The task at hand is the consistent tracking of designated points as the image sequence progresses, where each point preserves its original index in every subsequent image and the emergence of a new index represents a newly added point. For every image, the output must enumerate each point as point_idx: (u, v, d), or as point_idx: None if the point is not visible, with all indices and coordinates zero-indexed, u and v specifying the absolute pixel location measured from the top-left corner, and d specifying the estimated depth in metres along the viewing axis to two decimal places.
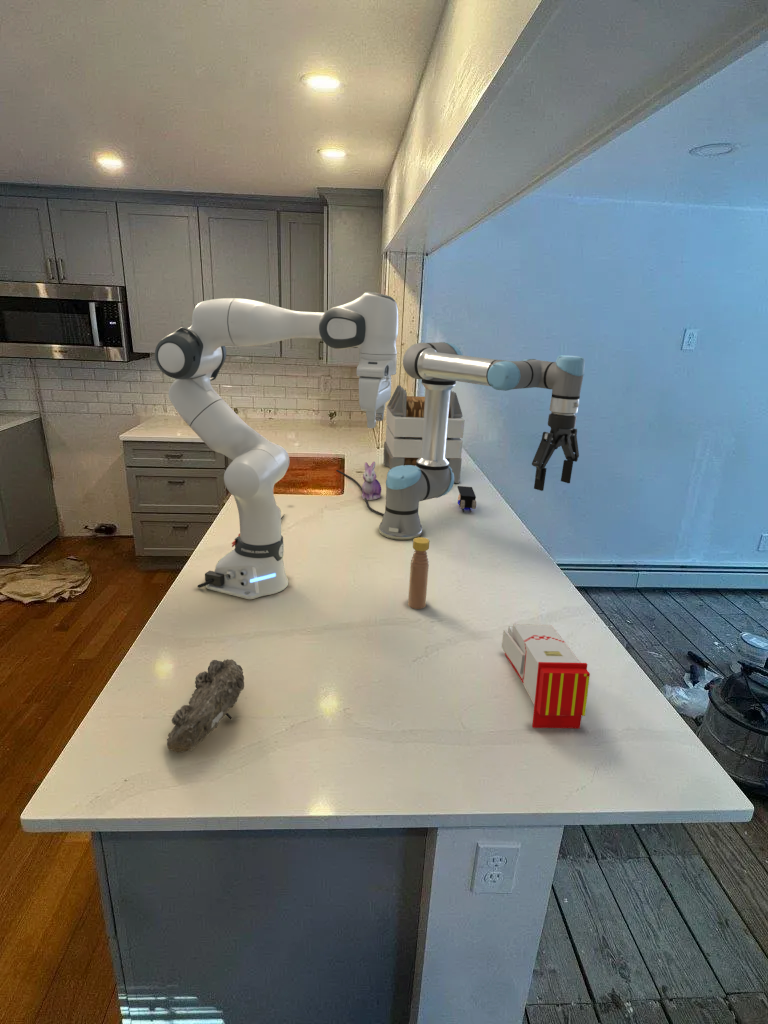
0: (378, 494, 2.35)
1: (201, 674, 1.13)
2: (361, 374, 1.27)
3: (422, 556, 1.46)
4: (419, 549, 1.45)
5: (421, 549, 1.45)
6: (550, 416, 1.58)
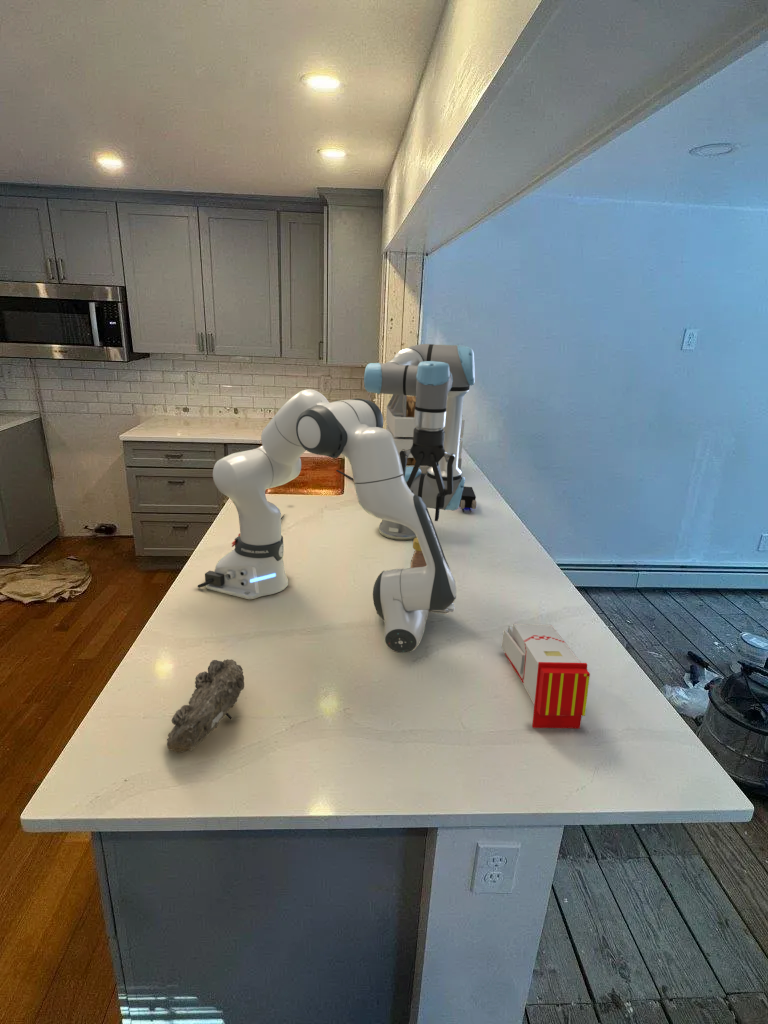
0: None
1: (201, 674, 1.13)
2: None
3: (422, 556, 1.46)
4: (419, 549, 1.45)
5: None
6: (441, 434, 1.34)
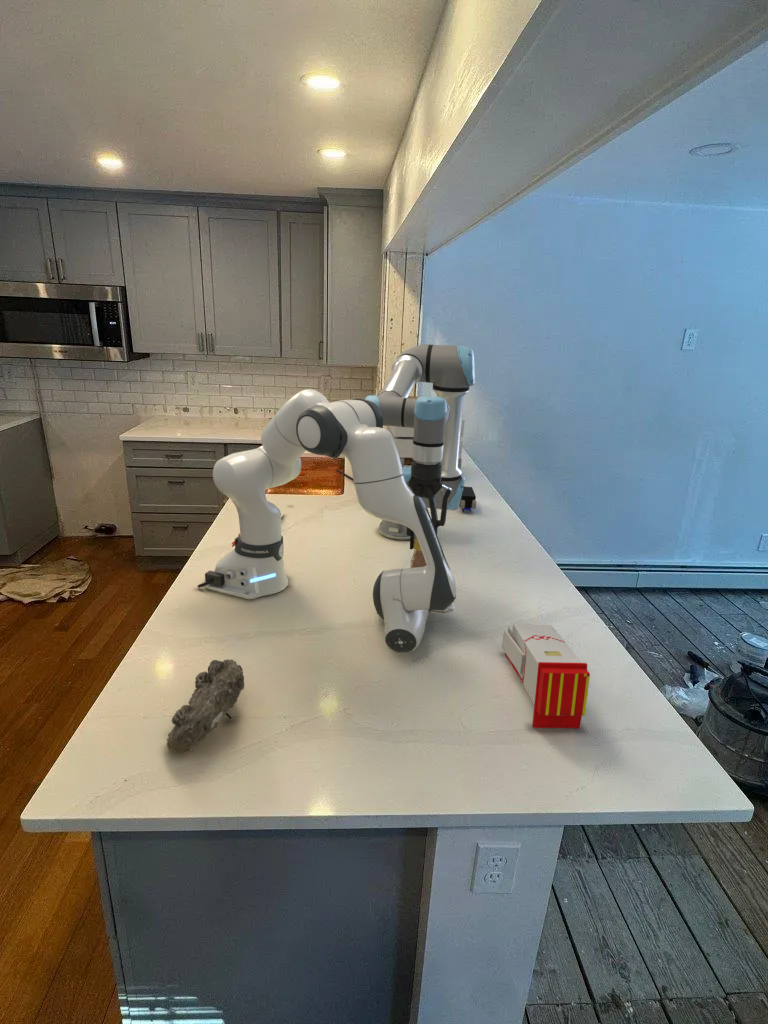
0: None
1: (201, 674, 1.13)
2: None
3: (422, 556, 1.46)
4: (419, 549, 1.45)
5: None
6: (439, 467, 1.37)
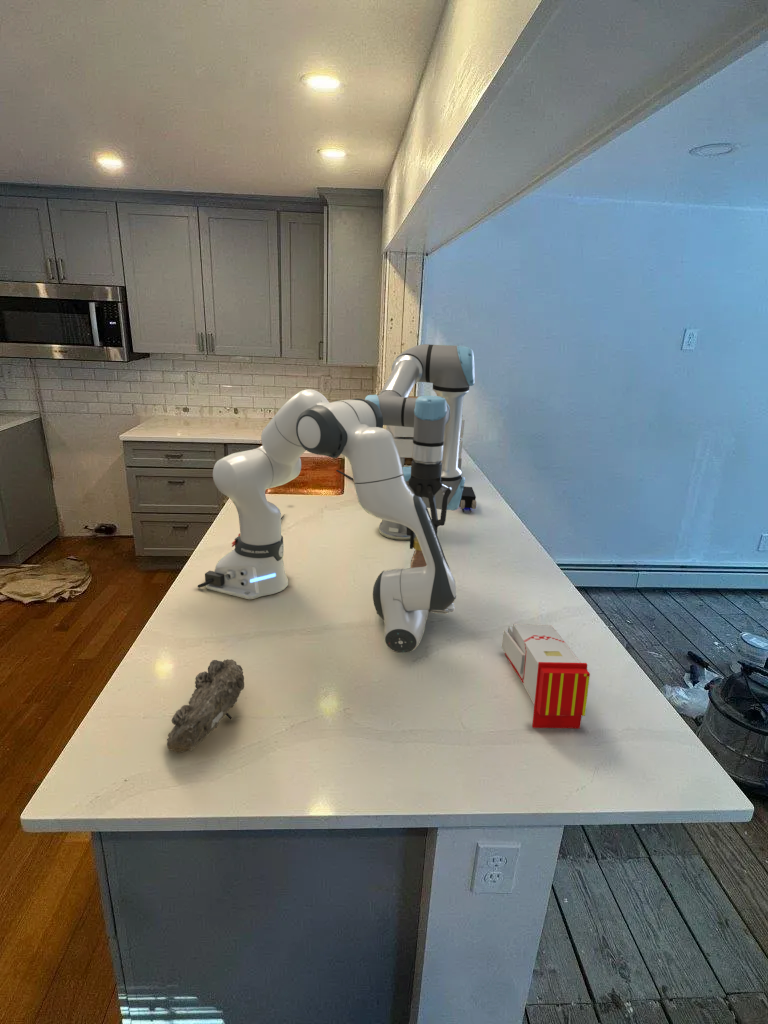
0: None
1: (201, 674, 1.13)
2: None
3: (422, 556, 1.46)
4: None
5: None
6: (439, 467, 1.37)
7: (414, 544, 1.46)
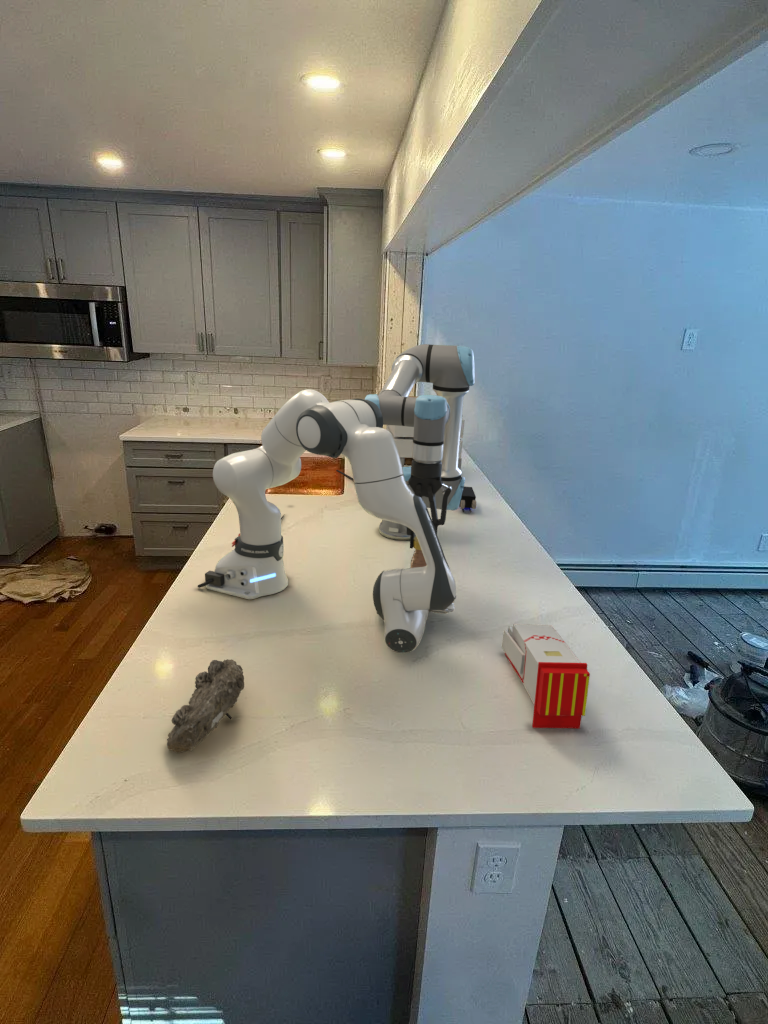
0: None
1: (201, 674, 1.13)
2: None
3: (422, 556, 1.46)
4: None
5: None
6: (439, 466, 1.37)
7: None
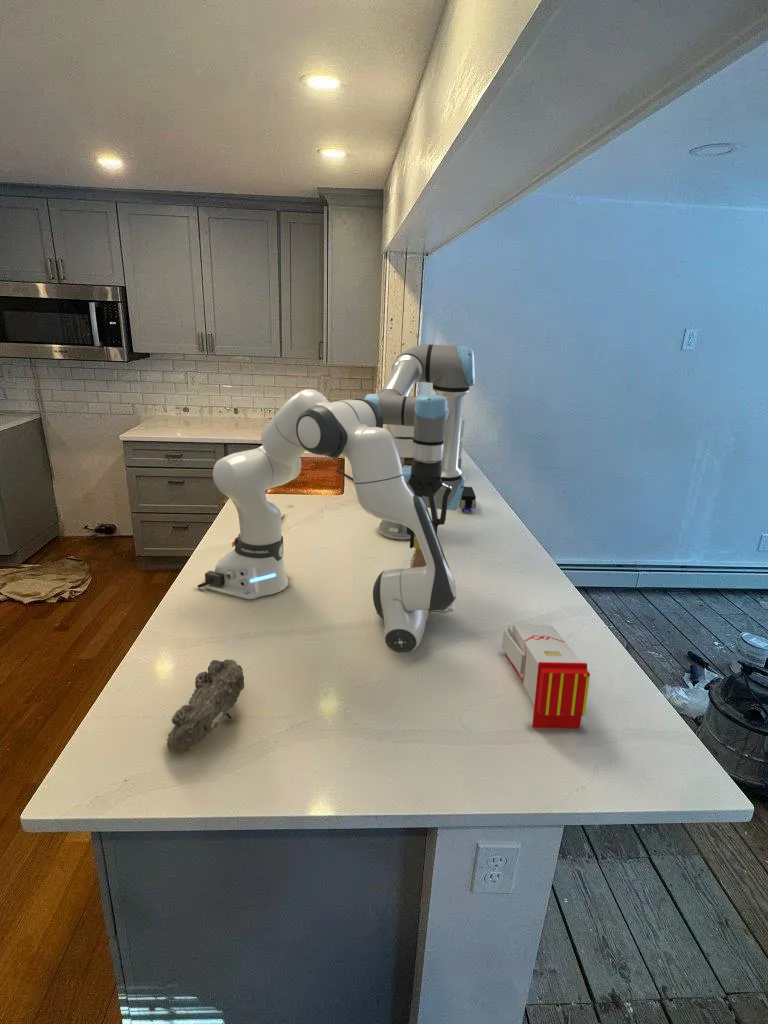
0: None
1: (201, 674, 1.13)
2: None
3: (422, 556, 1.46)
4: (419, 548, 1.45)
5: None
6: (439, 466, 1.37)
7: None
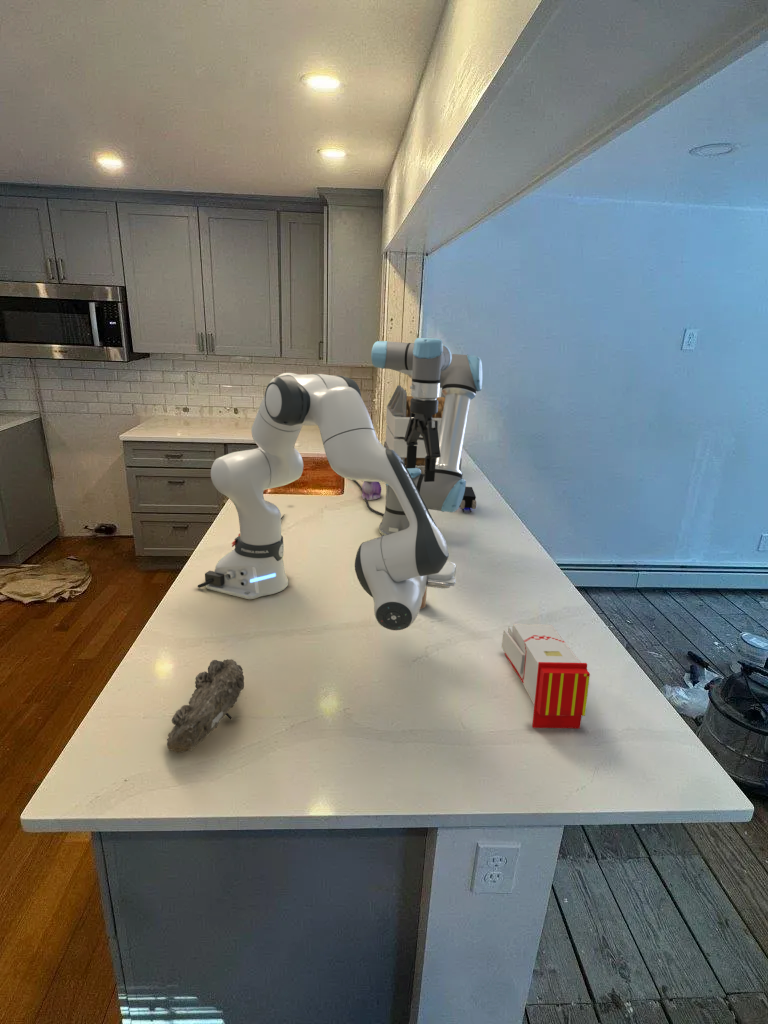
0: (378, 494, 2.35)
1: (201, 674, 1.13)
2: None
3: None
4: None
5: None
6: None
7: None
